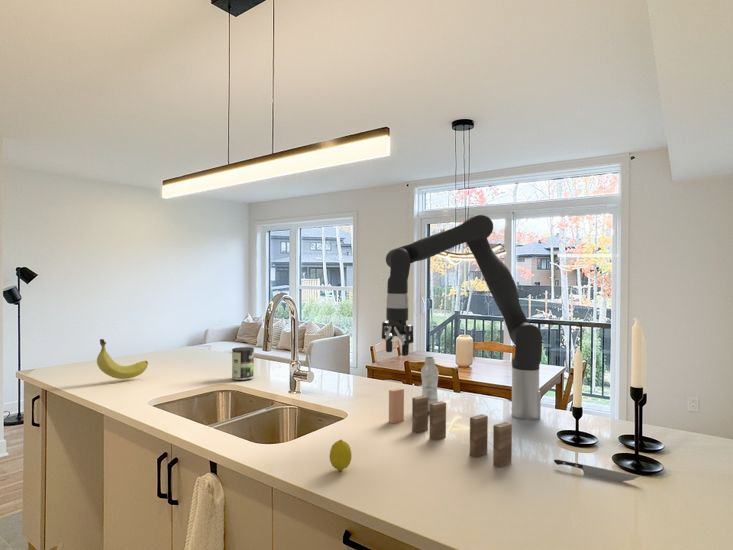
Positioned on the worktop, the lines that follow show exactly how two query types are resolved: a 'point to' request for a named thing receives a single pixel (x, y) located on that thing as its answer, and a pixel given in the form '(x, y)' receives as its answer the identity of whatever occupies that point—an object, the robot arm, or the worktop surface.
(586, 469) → the chef's knife
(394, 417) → the domino
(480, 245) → the robot arm
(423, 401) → the domino
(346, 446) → the lemon
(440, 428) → the domino
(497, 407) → the worktop surface
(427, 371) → the plastic bottle
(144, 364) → the banana
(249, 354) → the coffee can
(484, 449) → the domino
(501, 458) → the domino
